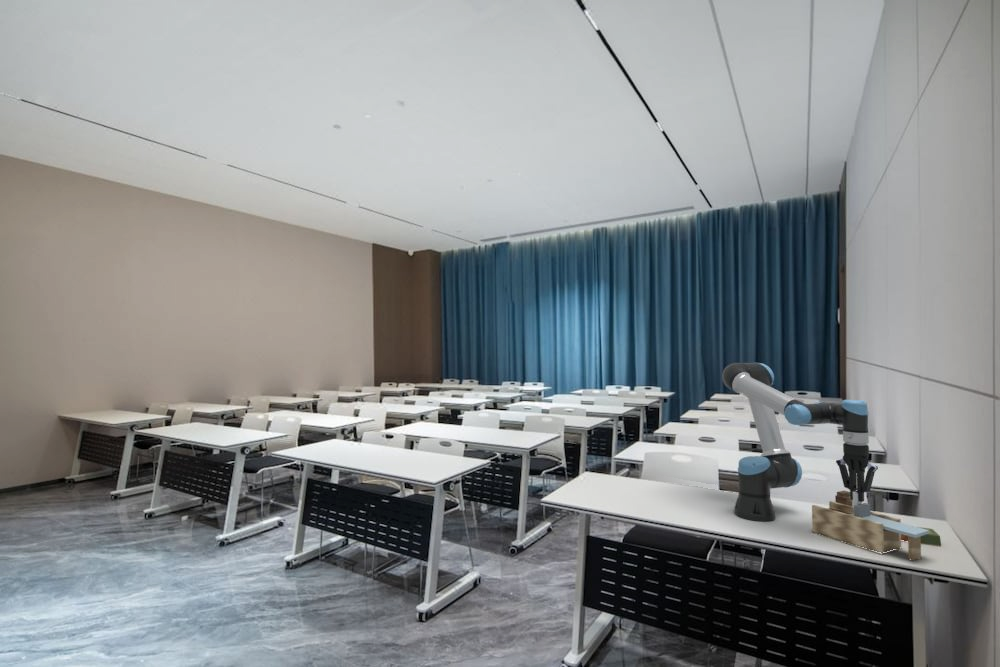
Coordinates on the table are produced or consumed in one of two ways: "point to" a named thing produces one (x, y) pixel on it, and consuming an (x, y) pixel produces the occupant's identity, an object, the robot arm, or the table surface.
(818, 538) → the table surface
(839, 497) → the brown block
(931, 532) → the carton
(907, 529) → the lid
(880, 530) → the wooden box
